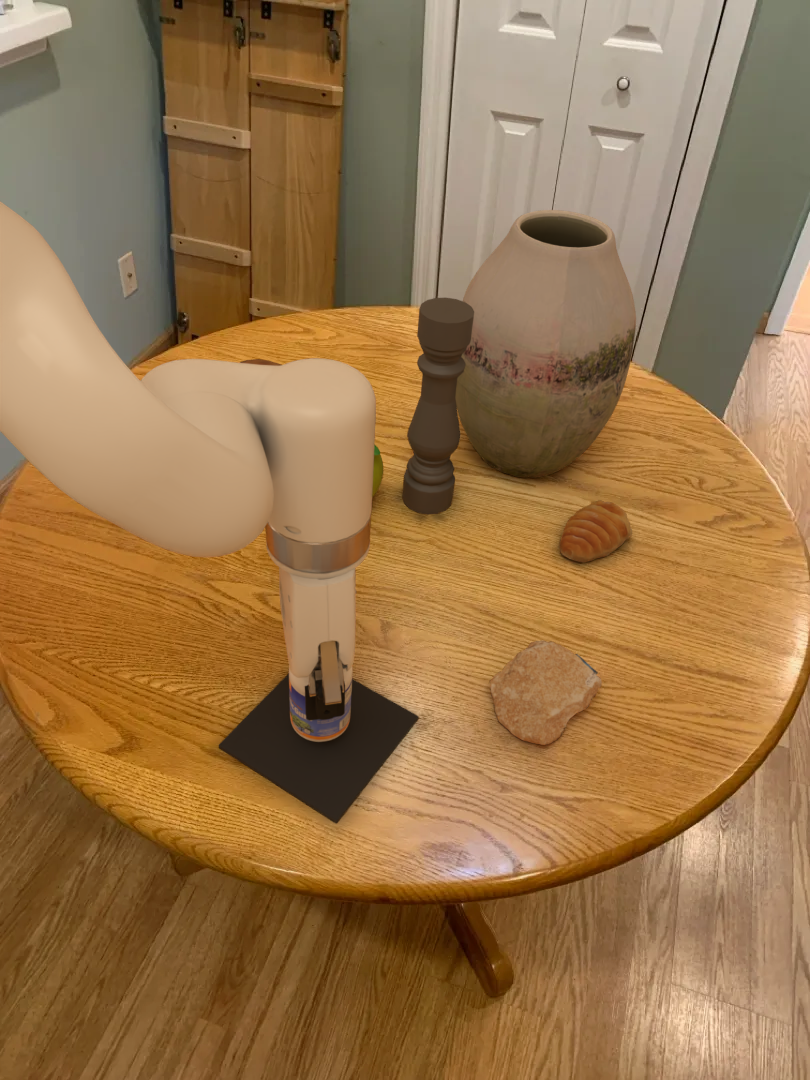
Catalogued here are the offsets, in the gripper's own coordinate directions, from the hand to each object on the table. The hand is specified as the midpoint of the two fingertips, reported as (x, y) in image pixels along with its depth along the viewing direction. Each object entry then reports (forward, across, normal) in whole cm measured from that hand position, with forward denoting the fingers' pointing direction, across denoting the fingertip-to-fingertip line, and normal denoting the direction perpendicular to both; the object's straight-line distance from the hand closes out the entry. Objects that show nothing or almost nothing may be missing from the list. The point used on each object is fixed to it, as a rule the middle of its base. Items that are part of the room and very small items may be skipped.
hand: (319, 684), depth 73 cm
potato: (+7, -52, 0) cm, 53 cm away
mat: (+7, 0, 0) cm, 7 cm away
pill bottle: (+5, 0, 0) cm, 5 cm away
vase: (+7, -40, +33) cm, 52 cm away
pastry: (+7, -21, +35) cm, 42 cm away
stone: (+7, 0, +21) cm, 23 cm away
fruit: (+7, -32, +7) cm, 34 cm away
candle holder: (+7, -32, +18) cm, 37 cm away
